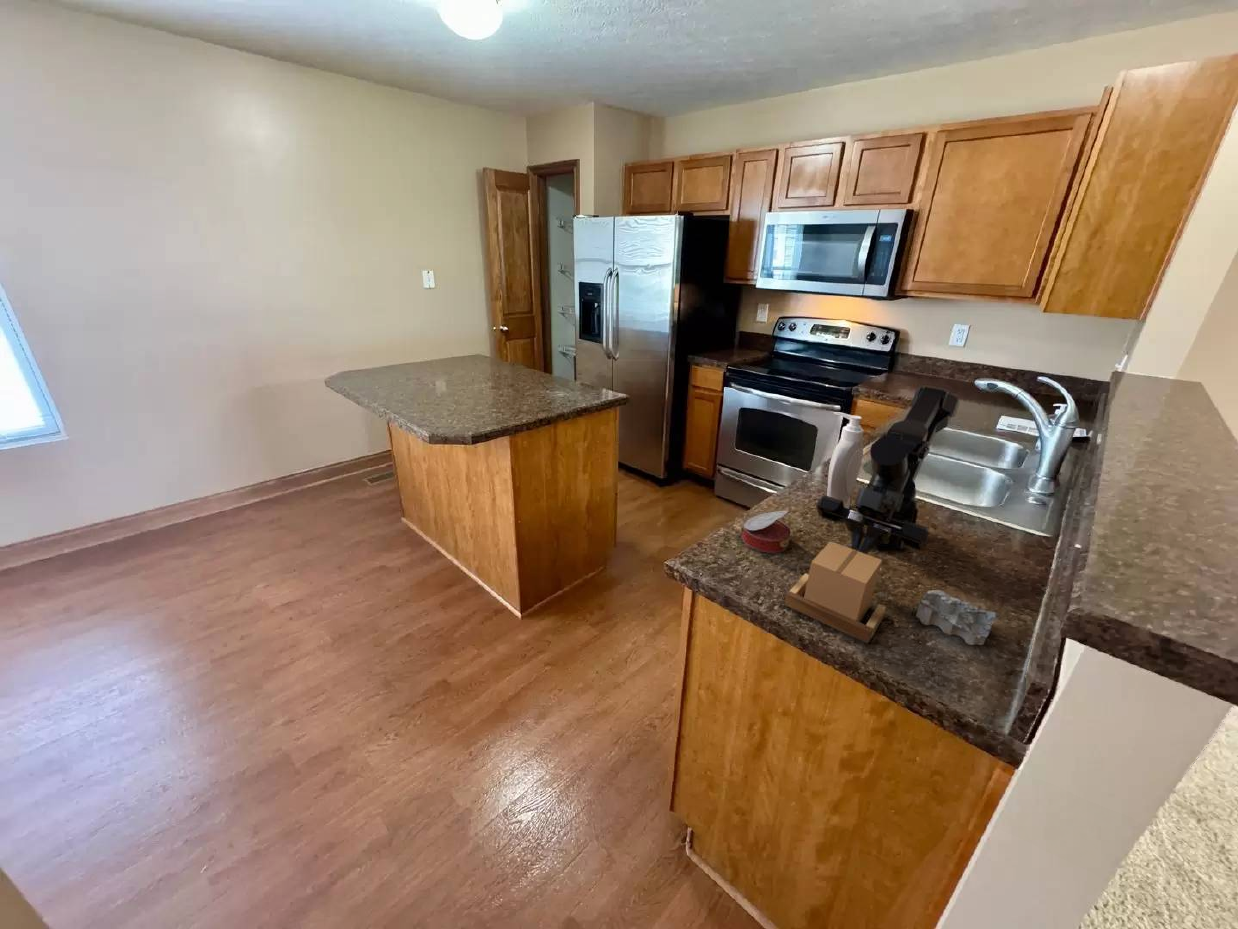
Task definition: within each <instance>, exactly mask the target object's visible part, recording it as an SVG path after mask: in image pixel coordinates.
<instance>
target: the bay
mask: <svg viewBox="0 0 1238 929" xmlns="http://www.w3.org/2000/svg"><path fill="white" fill-rule="evenodd" d="M808 576H809V573H804V574H803V575H802V577H800V579H799V580H798V581H797V582H796V583H795V584H794V585H793V586H792V587H791V589H790V590H788V592H787V593H786V596H785V599H784V600H785V601H784V606H786V607H787V608H789V609H792V610H794V611H796V612H798V613H801V614H803V615H805V616H807V617H809V618H811V619H813V620H815V621H818V622H820V623H822V624H824V625H826V626H828V627H830V628H833V629H834V630H837V631H839V632H842V633H844V634H846V635H848V636H850V637H852V638H854V639H857V640H859V641H861V642H863V643H865V644H867V645H868V644H869V643H870V641H871V640H872V637H873V636H874V635H875V632H876V631H877V629H878V627H879V625H880V624H881V622H882V621H883V618H884V615H885V613H886V608H887V606H886V605H883V604H881V603H878V605H877V606H876V608H875V610H874V611H873V612H872V614H871V616H870V617H869V619H868V621H867V622H866V624H864V623H862V622H861V621H860V622H858V621H855V620H853V619H851V618H849V617H846V616H844V615H842V614H840V613H837V612H835V611H833V610H831V609H828V608H826V607H824V606H822V605H820V604H817V603H815V602H813V601H811V600H808V599H806V598H804V596H803V594H805V591H806V586H807V581H808Z"/></svg>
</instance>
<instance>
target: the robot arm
mask: <svg viewBox="0 0 1238 929" xmlns="http://www.w3.org/2000/svg"><path fill="white" fill-rule="evenodd" d="M959 406H960V398H959V397H957V396H955V395H953V394H951V393H950V392H949V390H946V389H945V388H940V387H936V386H935V387H934V386H929V385H928V386H927V385H924V386H920V388H919V389H917V390H915V392H914V395H913V397H912V401H911V404H910V410H909V411H908V412H907V414H906V416H905V417H904V419H903V420H901V421H897V422H894V423H892V425H890V427H889V428H888V430H887V431H884V432H883V433H882V434H881V435H880V436H879V438H878V439H877V440H876V441H874V442H873V443H872V444H871V446H870V449H869V451H870V452H869V454H870V461H871V462H870V463H871V468H872V472H873V473H872V474H871V476H870V479H869V482H868V483H867V485H866V487H865V488H864V487H861V486H859V487H858V488H859V489H858V492H857V495H856V497H855V500H854V509H857V510H853V509H851V508H849V509H847V508H844V505H843V501H842V500H838V499H835V498H832V497H829V496H827V494H826V495H825V494H824V495H822V496H820V497H819V499H818V501H817V503H816V505H815V507H816V510H817V513H818V515H819V517H821V518H823V519H825V520H828V521H832V522H835V523H838V522H840V521H842V519H845V520H844V522H845V526H846V529H847V531H848V532H850V535H851V545H850V548H851V549H855V550H858V551H859V552H861V553H864V554H867V555H869V553H870V552H872V550H876V551H904V550H906V548H910V549H913V550H915V551H916V550H917V551H919V552H925V551H926V548H927V545H928V544H929V538H930V530H929V529H928V527H927V526H924V525H921V524H918V523H917V521H918V520H917V519H918V515H919V514H918V513H919V508H918V501H916V497H917V488H916V482H915V481H916V479H917V476H918V475H919V472H920V470H921V467H922V465H923V463H924V460H925V458H926V457H928V455H929V453H930V450H931V448H930V447H931V444H932V442H933V440H934V438H935V436H936V434H937V433H939V432H940V431H942V430H944V429H945V428H947V427H948V426H949V424H950V422H951V420H952V418H953V419H955V417H956V415H957V413H958V411H959ZM865 527H866V531H864V528H865ZM863 538H864V539H863Z"/></svg>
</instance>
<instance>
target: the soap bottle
mask: <svg viewBox="0 0 1238 929" xmlns="http://www.w3.org/2000/svg"><path fill="white" fill-rule="evenodd" d="M833 415H836V416H840V417H843V418H845V419H847V420H849V422H848V423H846V425H845V426H843V427H842V430H841V434H840V439H839V441H838V443H837V444H836V446H835V448H834V449H833V451H832V454H831V458H830V462H829V467H828V474H827V491H826V496H829V497H832V498H835V499H838V500H842V501H843V505H844V508H847V509H850V506H851V505H850V504H851V498H850V497H851V496H852V492H853V490H854V488H855V486H856V482H857V480H858V477H859V473H860V470H861V467H862V463H863V458H864V442H863V436H864V431H865V430H864V429H863V428H862V425H860V423H861V420H862V416H860V415H855V414H854V415H853V414H852V415H851V414H848V413H845V412H840V411H834V412H833Z"/></svg>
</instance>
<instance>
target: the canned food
mask: <svg viewBox="0 0 1238 929" xmlns="http://www.w3.org/2000/svg"><path fill="white" fill-rule="evenodd" d="M789 512H790V510H786V509H785V510H776V511H769V512H766V513H761V514H758V515H755V516H753V517H750V518H748V519H747V520H746V521H745V522H744V523H743V529H742V535H741V537H742V541H743V543H744V544H745V545H746V546H748V547H749V548H752V549H753V550H756V551H759V552H762V553H763V552H764V553H771V554H773V553H779V552H780V553H781V552H783V551H785V550H787V548H788V547H789V543H790V537H791V528H790V527H789V526H788V525H787V524H785V523H784V522H782V521H781V520H780V519H782V518H784V517H785V516H786V514H788V513H789Z"/></svg>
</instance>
